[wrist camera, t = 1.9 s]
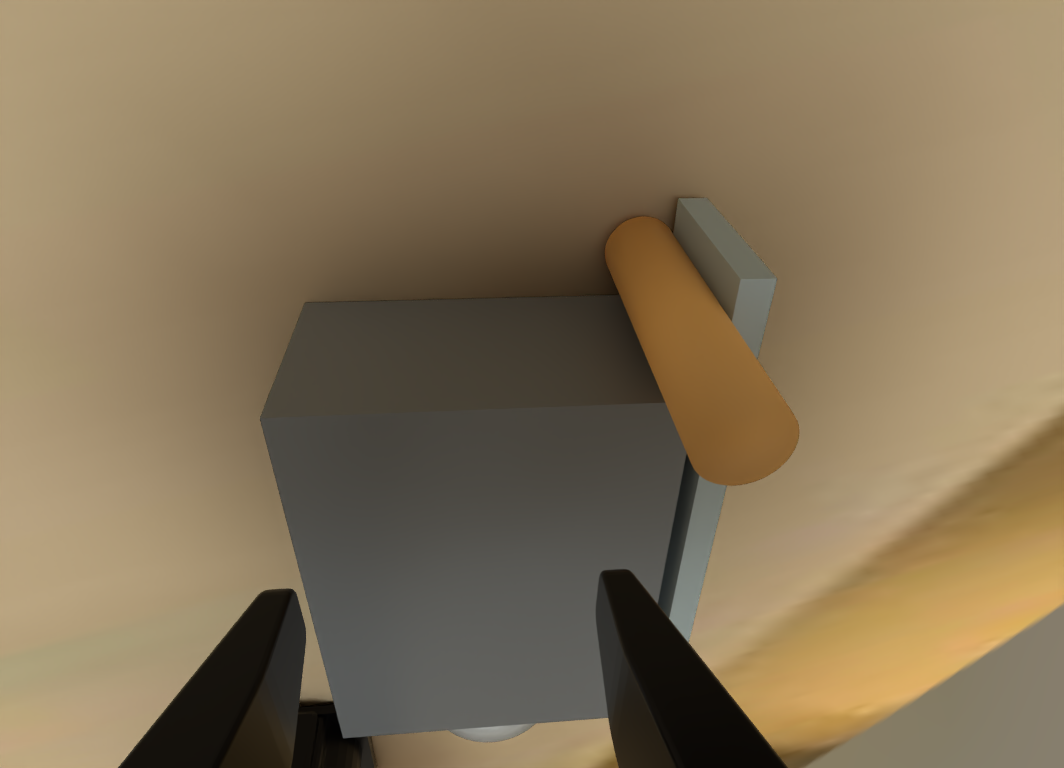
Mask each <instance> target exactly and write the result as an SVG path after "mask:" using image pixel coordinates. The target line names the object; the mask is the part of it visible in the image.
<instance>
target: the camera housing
mask: <svg viewBox="0 0 1064 768" xmlns="http://www.w3.org/2000/svg"><path fill="white" fill-rule="evenodd" d="M260 421H261V425H262V429H263V432H264V436H265V440H266V444H267V448H268V452H269V455H270V459H271V463H272V467H273V471H274V475H275V478H276V482H277V486H278V490H279V494H280V498H281V502H282V505H283V509H284V513H285V517H286V521H287V525H288V528H289V532H290V536H291V540H292V544H293V548H294V551H295V555H296V559H297V563H298V567H299V571H300V574H301V578H302V582H303V586H304V590H305V594H306V597H307V601H308V605H309V609H310V613H311V617H312V621H313V624H314V628H315V632H316V636H317V640H318V644H319V647H320V651H321V655H322V659H323V663H324V667H325V670H326V674H327V678H328V682H329V686H330V690H331V693H332V697H333V701H334V705H335V709H336V713H337V716H338V720H339V724H340V728H341V732H342V736H343V738H353V737H366V736H379V735H392V734H405V733H418V732H430V731H443V730H449V731H450V732H452V733H453V734H455V735H457V736H459V737H462V738H464V739H468V740H472V741H477V742H497V741H503V740H507V739H510V738H513V737H515V736H518V735H520V734H521V733H523V732H525V731H527V730H528V729H529V728H531V727H532V726H533V725H535V724H536V723H546V722H559V721H572V720H585V719H598V718H608V712H607V704H606V696H605V688H604V681H603V673H602V665H601V657H600V650H599V642H598V634H597V626H596V600H597V591H598V582H599V576H600V573H601V572H602V571H604V570H614V569H628V570H630V571H631V572H632V573H633V574H634V575H635V576H636V578H637V579H638V580H639V581H640V583H641V584H642V585H643V586H644V588H645V589H646V590H647V591H648V593H649V594H650V595H651V596H652V598H653V599H654V600H655V601H656V603H657V604H658V599H659V594H660V589H661V584H662V579H663V573H664V568H665V563H666V558H667V552H668V547H669V542H670V537H671V532H672V526H673V521H674V516H675V511H676V505H677V500H678V495H679V490H680V485H681V479H682V474H683V469H684V464H685V458H686V453H687V452H686V450H685V448H684V445H683V443H682V441H681V438H680V436H679V434H678V431H677V429H676V427H675V424H674V422H673V419H672V417H671V415H670V412H669V410H668V408H667V405H666V403H665V401H664V398H663V396H662V393H661V391H660V389H659V386H658V384H657V382H656V379H655V377H654V375H653V372H652V370H651V367H650V365H649V363H648V360H647V358H646V356H645V353H644V351H643V349H642V346H641V344H640V342H639V339H638V337H637V334H636V332H635V330H634V327H633V325H632V323H631V320H630V318H629V316H628V313H627V311H626V308H625V306H624V304H623V301H622V299H621V297H620V295H599V296H559V297H518V298H478V299H438V300H398V301H358V302H317V303H305V304H304V306H303V309H302V311H301V314H300V316H299V319H298V322H297V324H296V327H295V329H294V332H293V334H292V337H291V340H290V342H289V345H288V347H287V350H286V352H285V355H284V357H283V360H282V363H281V365H280V368H279V370H278V373H277V375H276V378H275V381H274V383H273V386H272V388H271V391H270V393H269V396H268V398H267V401H266V404H265V406H264V409H263V411H262V414H261V416H260Z"/></svg>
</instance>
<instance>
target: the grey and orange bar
mask: <svg viewBox="0 0 1064 768" xmlns="http://www.w3.org/2000/svg"><path fill="white" fill-rule="evenodd" d="M605 260H606V264H607V266H608V268H609V271H610V273H611V275H612V278H613V280H614V282H615V285H616V287H617V290H618V292H619V294H620V297H621V299H622V301H623V304H624V306H625V308H626V311H627V313H628V316H629V318H630V320H631V323H632V325H633V327H634V330H635V332H636V334H637V337H638V339H639V342H640V344H641V346H642V349H643V351H644V353H645V356H646V358H647V360H648V363H649V365H650V367H651V370H652V372H653V375H654V377H655V379H656V382H657V384H658V386H659V389H660V391H661V393H662V396H663V398H664V401H665V403H666V405H667V408H668V410H669V412H670V415H671V417H672V419H673V422H674V424H675V427H676V429H677V431H678V434H679V436H680V438H681V441H682V443H683V445H684V448H685V450H686V452H687V453H686V458H685V464H684V469H683V474H682V479H681V485H680V490H679V495H678V500H677V505H676V511H675V516H674V521H673V526H672V532H671V537H670V542H669V547H668V552H667V558H666V563H665V568H664V573H663V579H662V584H661V589H660V594H659V599H658V605H659V606H660V608H661V609H662V610H663V611H664V613H665V614H666V615H667V616H668V618H669V619H670V620H671V621H672V623H673V624H674V625H675V626H676V628H677V629H678V630H679V631H680V633H681V634H682V635H683V636H684V638H685V639H686V640H687V641H688V643H689V639H690V634H691V630H692V626H693V622H694V618H695V614H696V610H697V606H698V602H699V598H700V593H701V589H702V585H703V581H704V577H705V573H706V569H707V565H708V561H709V556H710V552H711V548H712V544H713V540H714V536H715V532H716V528H717V524H718V520H719V515H720V511H721V507H722V503H723V499H724V495H725V491H726V487H727V486H734V485H743V484H748V483H751V482H755V481H757V480H760V479H762V478H764V477H766V476H768V475H770V474H771V473H773V472H774V471H776V470H777V469H778V468H780V467H781V466H782V465H783V464H784V463H785V462H786V461H787V460H788V459H789V457H790V456H791V455H792V453H793V451H794V450H795V448H796V445H797V443H798V439H799V425H798V422H797V419H796V417H795V416H794V414H793V413H792V411H791V410H790V408H789V407H788V405H787V404H786V402H785V401H784V399H783V398H782V396H781V395H780V393H779V392H778V390H777V389H776V387H775V386H774V384H773V383H772V381H771V380H770V378H769V377H768V375H767V374H766V372H765V371H764V369H763V368H762V366H761V365H760V363H759V362H758V360H757V359H758V355H759V351H760V347H761V343H762V339H763V335H764V331H765V327H766V323H767V318H768V314H769V310H770V306H771V302H772V298H773V294H774V290H775V286H776V281H777V278H776V277H775V275H774V274H773V273H772V272H771V271H770V270H769V268H768V267H767V266H766V265H765V264H764V263H763V262H762V260H761V259H760V258H759V257H758V256H757V255H756V254H755V252H754V251H753V250H752V249H751V248H750V247H749V246H748V244H747V243H746V242H745V241H744V240H743V239H742V238H741V236H740V235H739V234H738V233H737V232H736V231H735V229H734V228H733V227H732V226H731V225H730V224H729V223H728V221H727V220H726V219H725V218H724V217H723V216H722V215H721V213H720V212H719V211H718V210H717V209H716V208H715V207H714V205H713V204H712V203H711V202H710V201H709V200H708V199H707V198H678V204H677V211H676V218H675V225H674V232H673V233H672V232H671V230H670V229H669V227H668V226H667V225H666V224H665V223H663V222H662V221H660V220H658V219H656V218H653V217H644V216H643V217H636V218H632V219H629V220H627V221H625V222H624V223H622V224H621V225H619V226H618V227H617V228H616V229H615V230H614V231H613V232H612V234H611V235H610V237H609V239H608V241H607V244H606V247H605Z"/></svg>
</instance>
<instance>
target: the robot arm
mask: <svg viewBox="0 0 1064 768" xmlns="http://www.w3.org/2000/svg"><path fill="white" fill-rule="evenodd" d="M596 626H597V634H598V642H599V650H600V657H601V665H602V673H603V681H604V688H605V696H606V704H607V712H608V718H609V725H610V731H611V736H612V740H613V745H614V750H615V754H616V758H617V762H618V766H619V768H788V767H787V766H786V764H785V763H784V762H783V761H782V759H781V758H780V757H779V756H778V754H777V753H776V752H775V751H774V749H773V748H772V747H771V745H770V744H769V743H768V742H767V740H766V739H765V738H764V737H763V735H762V734H761V733H760V732H759V730H758V729H757V728H756V727H755V725H754V724H753V723H752V722H751V720H750V719H749V718H748V717H747V715H746V714H745V713H744V712H743V710H742V709H741V708H740V707H739V705H738V704H737V703H736V702H735V700H734V699H733V698H732V697H731V695H730V694H729V693H728V692H727V690H726V689H725V688H724V687H723V685H722V684H721V683H720V682H719V680H718V679H717V678H716V677H715V675H714V674H713V673H712V672H711V670H710V669H709V668H708V667H707V665H706V664H705V663H704V662H703V660H702V659H701V658H700V657H699V655H698V654H697V653H696V651H695V650H694V649H693V648H692V646H691V645H690V644H689V643H688V641H687V640H686V639H685V638H684V636H683V635H682V634H681V633H680V631H679V630H678V629H677V628H676V626H675V625H674V624H673V623H672V621H671V620H670V619H669V618H668V616H667V615H666V614H665V613H664V611H663V610H662V609H661V608H660V606H659V605H658V604H657V603H656V601H655V600H654V599H653V598H652V596H651V595H650V594H649V593H648V591H647V590H646V589H645V588H644V586H643V585H642V584H641V583H640V581H639V580H638V579H637V578H636V576H635V575H634V574H633V573H632V572H631V571H630V570H628V569H614V570H604V571H602V572H601V573H600V576H599V582H598V591H597V600H596ZM305 646H306V628H305V623H304V619H303V616H302V612H301V608H300V605H299V601H298V597H297V594H296V592H295V591H294V590H293V589H272V590H265V591H263V592H261V593H260V594H259V595H258V596H257V597H256V598H255V600H254V601H253V602H252V603H251V605H250V606H249V607H248V608H247V609H246V611H245V612H244V613H243V614H242V616H241V617H240V618H239V619H238V621H237V622H236V623H235V624H234V625H233V627H232V628H231V629H230V630H229V632H228V633H227V634H226V635H225V637H224V638H223V639H222V640H221V641H220V643H219V644H218V645H217V646H216V648H215V649H214V650H213V651H212V653H211V654H210V655H209V656H208V657H207V659H206V660H205V661H204V662H203V664H202V665H201V666H200V667H199V669H198V670H197V671H196V672H195V674H194V675H193V676H192V677H191V678H190V680H189V681H188V682H187V683H186V685H185V686H184V687H183V688H182V690H181V691H180V692H179V693H178V694H177V696H176V697H175V698H174V699H173V701H172V702H171V703H170V704H169V706H168V707H167V708H166V709H165V710H164V712H163V713H162V714H161V715H160V717H159V718H158V719H157V720H156V722H155V723H154V724H153V725H152V726H151V728H150V729H149V730H148V731H147V733H146V734H145V735H144V736H143V738H142V739H141V740H140V741H139V742H138V744H137V745H136V746H135V747H134V749H133V750H132V751H131V752H130V754H129V755H128V756H127V757H126V758H125V760H124V761H123V762H122V763H121V765H120V766H119V767H118V768H377V765H376V761H375V756H374V752H373V747H372V742H371V738H370V736H366V737H353V738H343V736H342V732H341V728H340V724H339V720H338V716H337V713H336V709H335V705H324V706H311V707H299V699H300V691H301V682H302V673H303V664H304V655H305Z"/></svg>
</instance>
